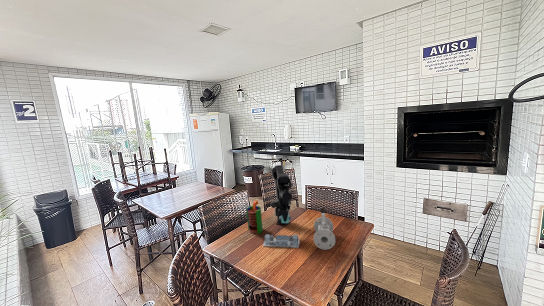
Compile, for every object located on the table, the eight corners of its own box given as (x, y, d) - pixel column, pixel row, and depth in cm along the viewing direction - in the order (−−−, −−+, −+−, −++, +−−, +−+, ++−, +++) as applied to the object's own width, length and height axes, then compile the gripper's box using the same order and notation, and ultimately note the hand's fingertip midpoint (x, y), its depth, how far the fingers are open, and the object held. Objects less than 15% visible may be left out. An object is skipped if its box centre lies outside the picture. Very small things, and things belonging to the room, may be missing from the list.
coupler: (280, 219, 141) (279, 212, 140) (291, 219, 139) (291, 213, 139) (279, 222, 136) (278, 216, 136) (291, 223, 135) (290, 216, 134)
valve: (335, 250, 121) (335, 224, 119) (313, 249, 124) (312, 224, 121) (333, 230, 142) (332, 208, 140) (314, 229, 145) (313, 208, 143)
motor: (245, 232, 148) (243, 203, 145) (252, 226, 156) (250, 199, 153) (258, 234, 143) (256, 205, 140) (265, 228, 151) (263, 200, 148)
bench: (266, 239, 138) (265, 232, 137) (299, 240, 133) (299, 233, 133) (263, 246, 130) (262, 238, 129) (298, 247, 126) (298, 240, 125)
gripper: (273, 191, 146) (275, 213, 148) (268, 201, 128) (270, 226, 130) (290, 191, 144) (291, 213, 146) (287, 201, 126) (288, 227, 128)
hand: (285, 219), depth 138 cm, fingers closed on coupler, 4 cm apart
